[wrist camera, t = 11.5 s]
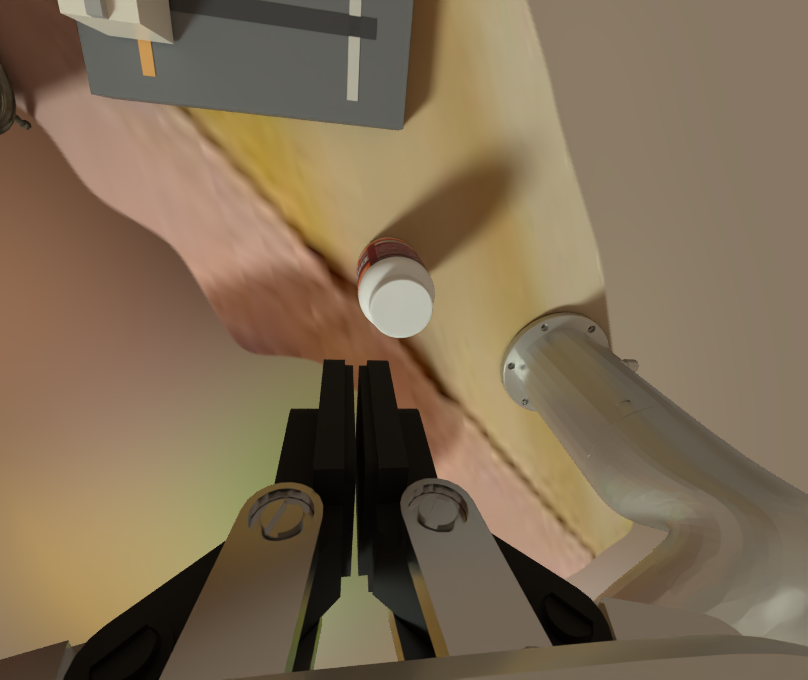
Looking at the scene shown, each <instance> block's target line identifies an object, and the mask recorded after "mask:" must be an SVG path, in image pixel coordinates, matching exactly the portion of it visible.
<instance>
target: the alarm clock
mask: <svg viewBox="0 0 808 680" xmlns="http://www.w3.org/2000/svg"><path fill="white" fill-rule="evenodd" d="M14 122H16V123H18V124H20V126H21V127H22V128H24V129H27V130H28V129H29V128H31V124H30V123H29V122H28V121H26V120H22V119H21V118H20V117H19V116H18V115H16V102H15V97H14V93H13V90H12V87H11V84H10V81H9V79H8V76H7V74H6V72H5V70H4V68H3V66H2V64H1V63H0V135H1V134H3V133H5V132H6V131H7V130H9V129H10V127H11V126H12V124H13V123H14Z"/></svg>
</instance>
